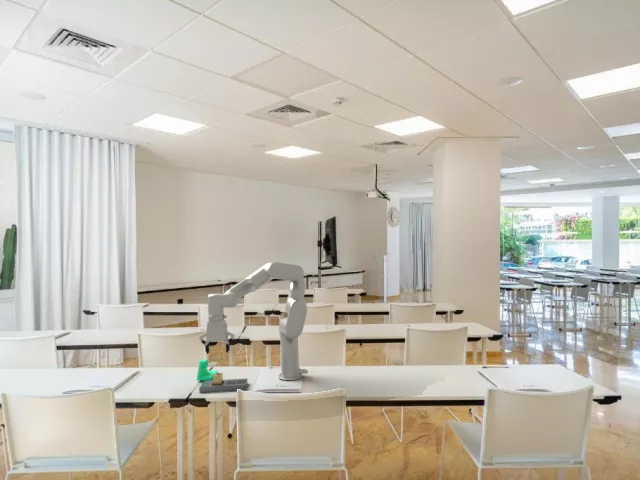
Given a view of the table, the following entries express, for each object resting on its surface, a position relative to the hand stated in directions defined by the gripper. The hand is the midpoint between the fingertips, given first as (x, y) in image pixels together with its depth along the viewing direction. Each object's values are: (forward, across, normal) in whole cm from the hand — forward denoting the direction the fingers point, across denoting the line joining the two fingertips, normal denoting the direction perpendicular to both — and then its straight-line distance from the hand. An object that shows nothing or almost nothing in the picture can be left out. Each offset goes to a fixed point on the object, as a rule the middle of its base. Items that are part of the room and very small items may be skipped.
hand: (217, 352), depth 194 cm
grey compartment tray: (+18, -2, 0) cm, 18 cm away
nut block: (+18, 0, 0) cm, 18 cm away
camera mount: (+18, +9, -17) cm, 26 cm away
